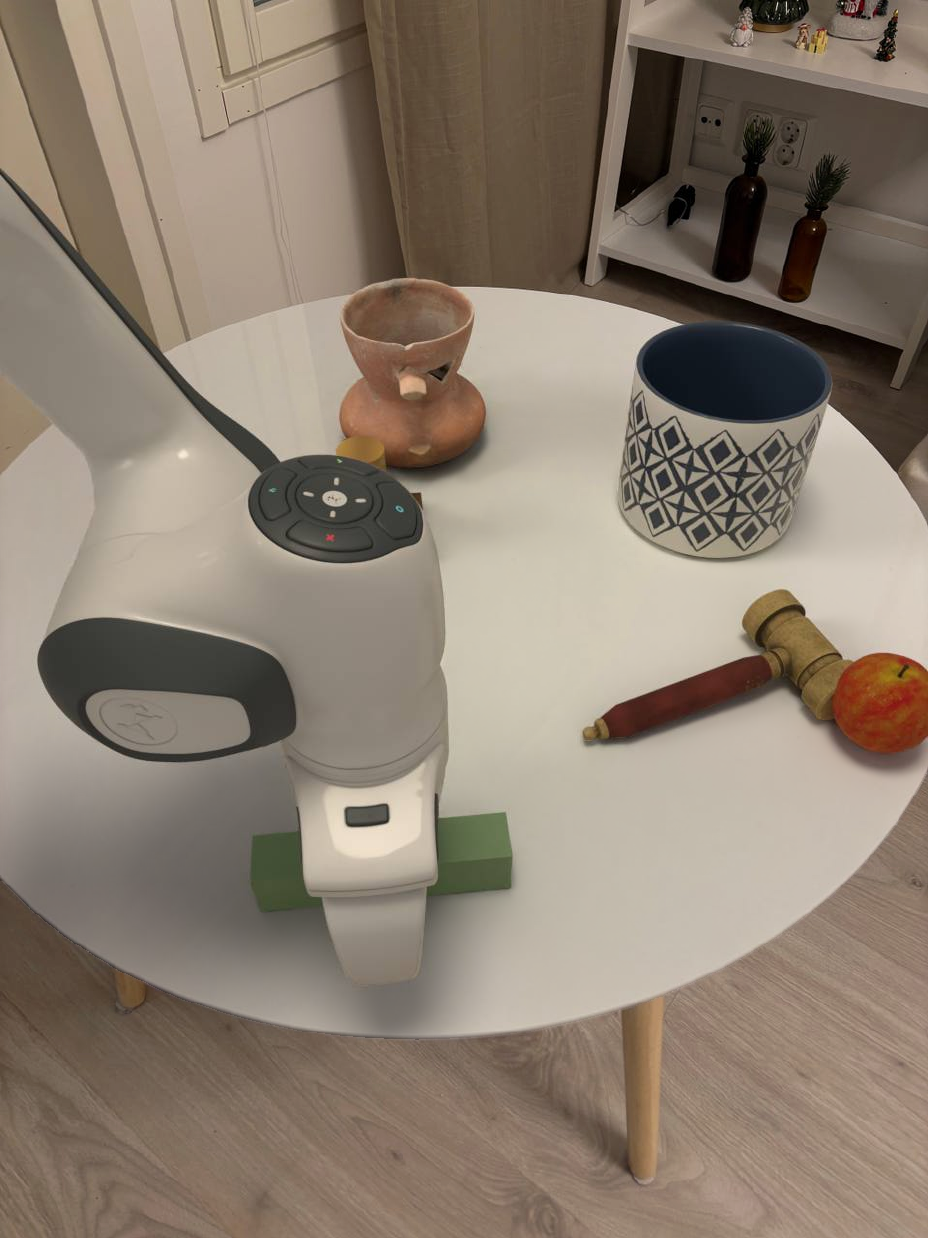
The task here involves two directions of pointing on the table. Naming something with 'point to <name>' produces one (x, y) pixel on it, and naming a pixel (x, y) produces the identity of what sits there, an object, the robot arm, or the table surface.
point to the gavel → (742, 672)
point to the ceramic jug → (411, 371)
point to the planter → (720, 436)
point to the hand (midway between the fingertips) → (383, 864)
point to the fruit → (883, 703)
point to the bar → (466, 864)
